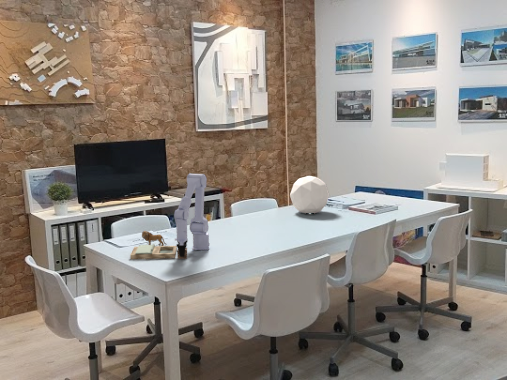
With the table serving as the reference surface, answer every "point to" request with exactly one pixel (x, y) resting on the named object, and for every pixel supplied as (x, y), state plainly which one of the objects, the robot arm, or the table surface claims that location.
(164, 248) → the wooden frame
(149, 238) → the lion figurine
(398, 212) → the table surface
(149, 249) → the lid
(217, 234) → the table surface
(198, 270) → the table surface
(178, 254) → the walnut cube
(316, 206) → the geometric form
